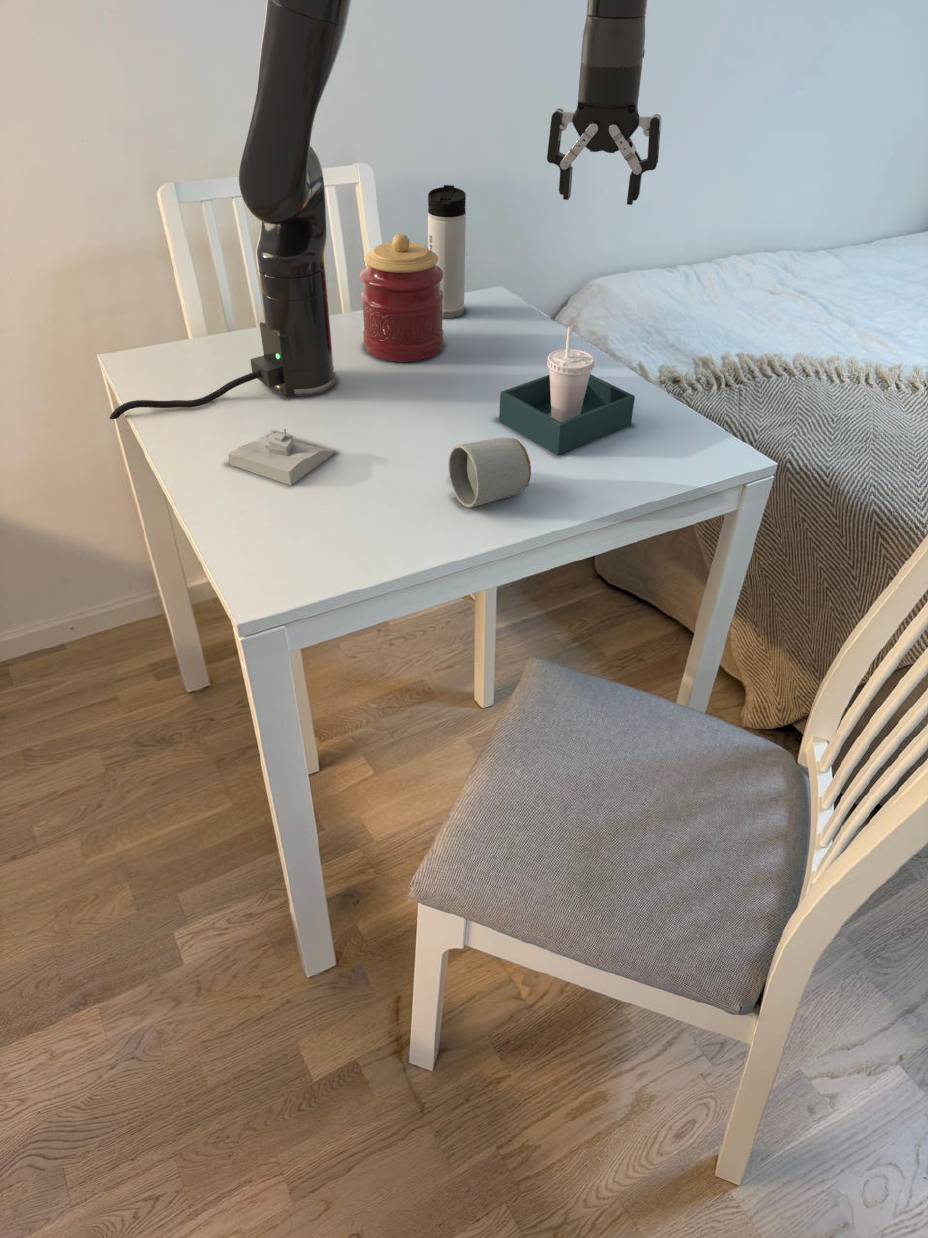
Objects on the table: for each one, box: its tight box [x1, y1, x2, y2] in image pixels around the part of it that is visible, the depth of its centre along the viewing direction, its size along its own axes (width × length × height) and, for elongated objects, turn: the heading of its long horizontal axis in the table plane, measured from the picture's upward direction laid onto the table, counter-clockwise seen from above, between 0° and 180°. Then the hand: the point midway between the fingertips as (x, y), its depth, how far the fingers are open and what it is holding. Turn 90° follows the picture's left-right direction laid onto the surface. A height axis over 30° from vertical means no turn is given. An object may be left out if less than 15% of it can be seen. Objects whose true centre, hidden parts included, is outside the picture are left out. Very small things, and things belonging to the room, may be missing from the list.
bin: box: [498, 373, 636, 456], centre depth 124 cm, size 14×12×4 cm
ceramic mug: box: [448, 437, 532, 509], centre depth 109 cm, size 11×8×8 cm
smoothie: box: [546, 325, 595, 422], centre depth 121 cm, size 6×6×14 cm
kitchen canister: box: [359, 233, 444, 363], centre depth 139 cm, size 13×13×18 cm
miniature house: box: [227, 428, 335, 486], centre depth 115 cm, size 12×11×4 cm
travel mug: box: [427, 184, 467, 319], centre depth 150 cm, size 6×7×20 cm
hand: (598, 200), depth 119 cm, fingers open, 8 cm apart
